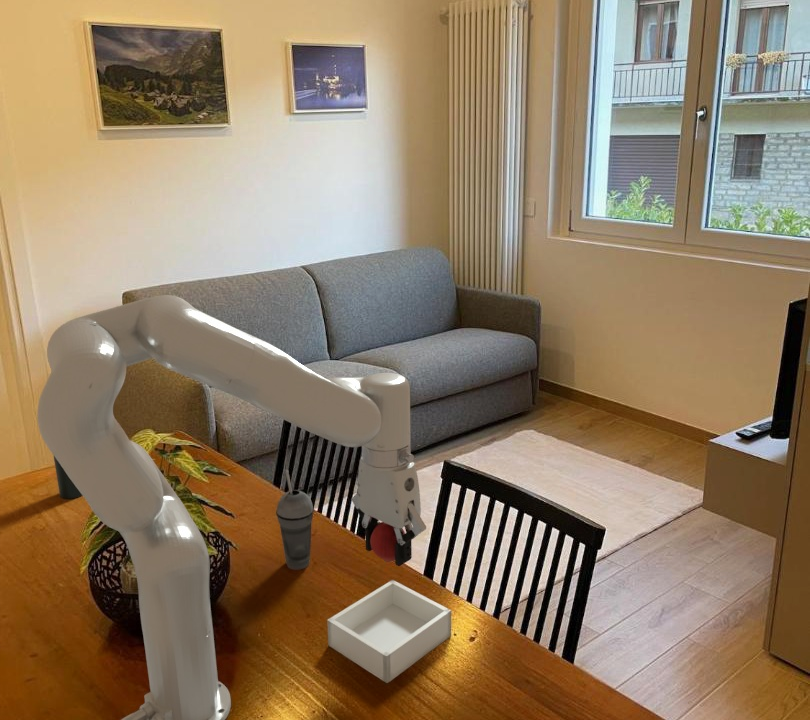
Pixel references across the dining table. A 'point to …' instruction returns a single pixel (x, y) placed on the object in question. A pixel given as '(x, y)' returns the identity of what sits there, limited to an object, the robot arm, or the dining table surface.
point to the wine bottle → (65, 483)
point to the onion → (384, 541)
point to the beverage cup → (295, 526)
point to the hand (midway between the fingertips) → (388, 553)
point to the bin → (389, 630)
